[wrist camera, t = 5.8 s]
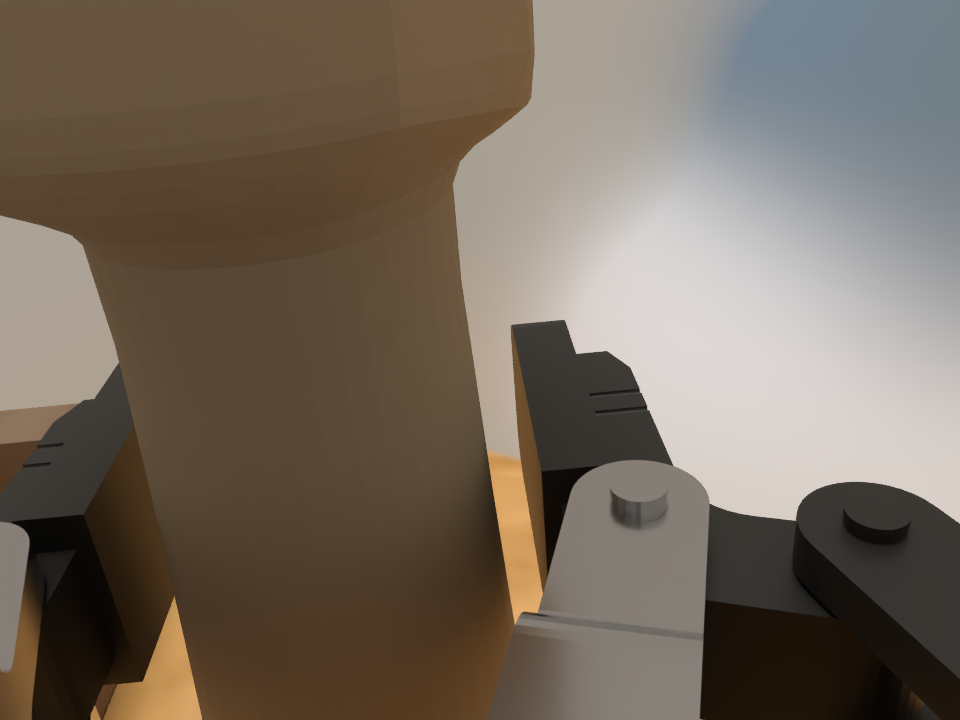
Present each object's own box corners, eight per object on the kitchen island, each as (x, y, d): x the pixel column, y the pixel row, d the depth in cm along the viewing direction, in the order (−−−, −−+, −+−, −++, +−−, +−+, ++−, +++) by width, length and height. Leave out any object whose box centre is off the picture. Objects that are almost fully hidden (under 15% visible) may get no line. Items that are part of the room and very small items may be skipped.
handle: (213, 1266, 11) (-468, -28, 4) (313, 803, 17) (92, -70, 10) (597, 1269, 11) (533, -119, 4) (568, 797, 17) (521, -108, 10)
